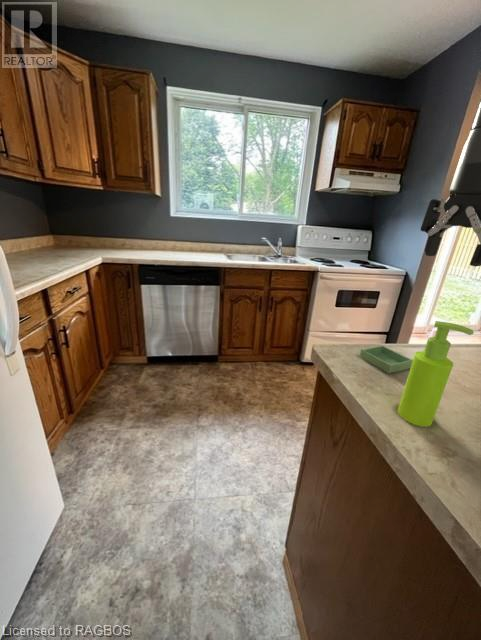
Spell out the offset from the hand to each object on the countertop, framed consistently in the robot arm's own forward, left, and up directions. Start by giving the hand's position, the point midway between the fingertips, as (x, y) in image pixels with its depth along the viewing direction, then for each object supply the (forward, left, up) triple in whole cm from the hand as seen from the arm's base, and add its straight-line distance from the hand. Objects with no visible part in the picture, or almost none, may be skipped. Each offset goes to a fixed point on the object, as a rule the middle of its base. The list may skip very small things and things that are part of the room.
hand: (451, 260), depth 51 cm
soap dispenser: (+9, +3, -30) cm, 31 cm away
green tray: (-11, -9, -30) cm, 33 cm away
